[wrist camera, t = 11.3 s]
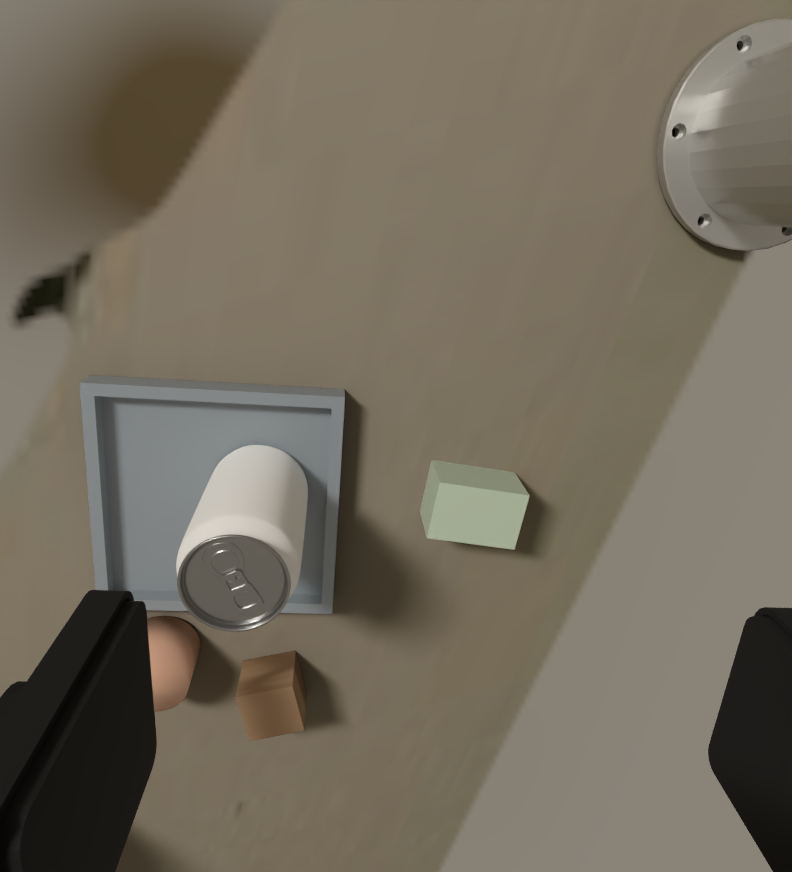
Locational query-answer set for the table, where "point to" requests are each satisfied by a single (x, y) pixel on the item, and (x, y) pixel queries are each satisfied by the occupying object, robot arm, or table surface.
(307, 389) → the tray
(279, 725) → the walnut block
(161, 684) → the brown egg
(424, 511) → the sage block
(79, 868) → the robot arm
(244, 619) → the can
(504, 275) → the table surface
